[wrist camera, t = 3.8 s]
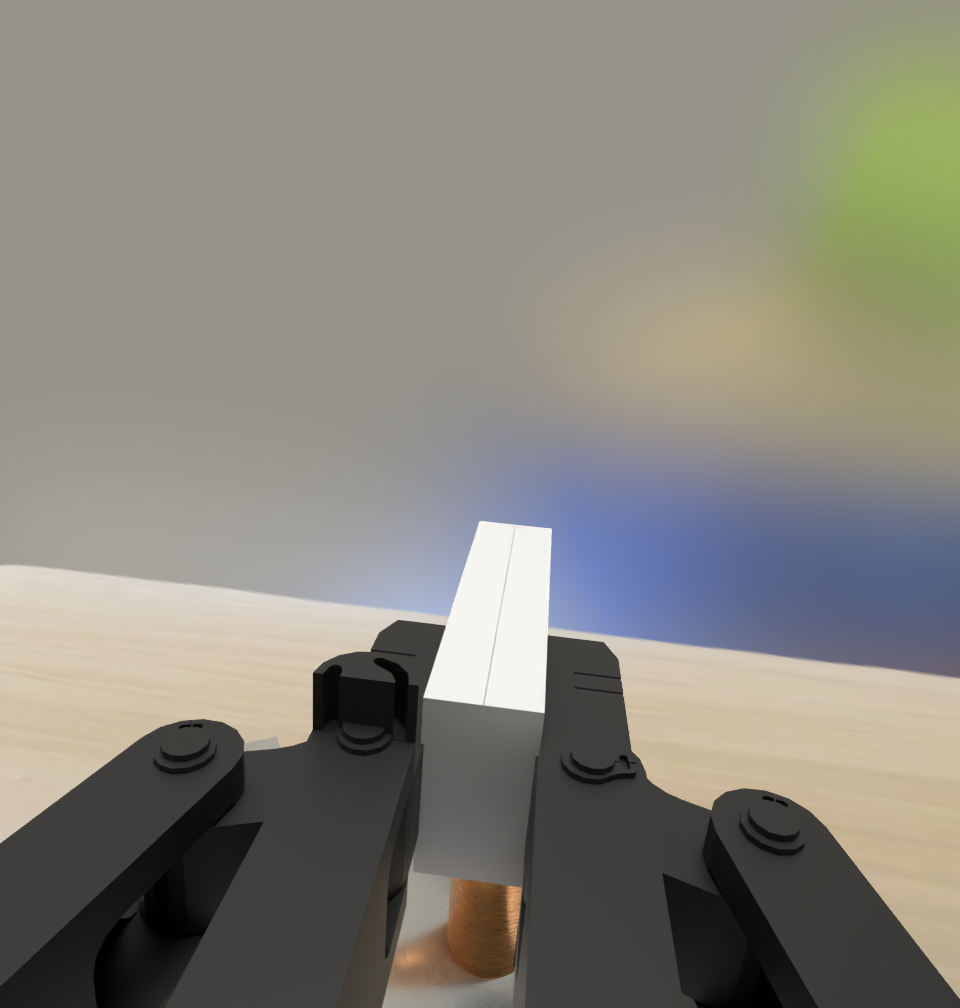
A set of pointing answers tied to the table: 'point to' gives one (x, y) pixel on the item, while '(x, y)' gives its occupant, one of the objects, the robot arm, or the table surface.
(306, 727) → the table surface
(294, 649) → the table surface
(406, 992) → the lugged metal dome
